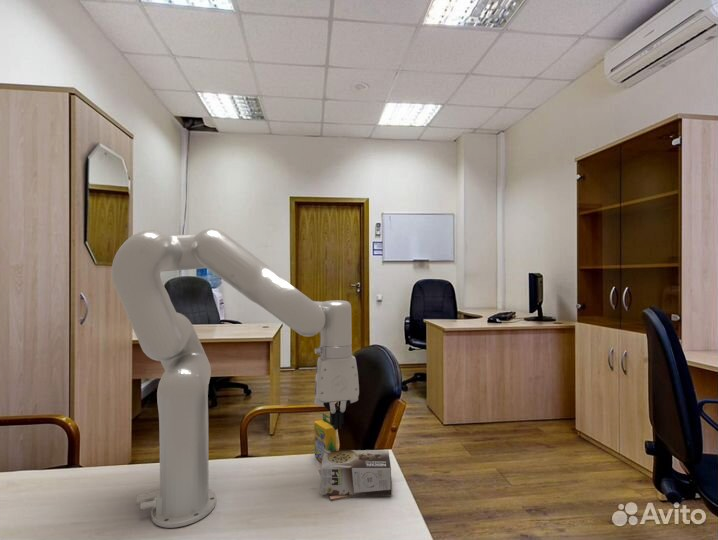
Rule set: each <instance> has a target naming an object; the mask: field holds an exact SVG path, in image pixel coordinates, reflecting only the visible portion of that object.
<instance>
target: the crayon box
mask: <svg viewBox="0 0 718 540" xmlns="http://www.w3.org/2000/svg"><path fill="white" fill-rule="evenodd" d="M327 418H328V419H329V420H328V419H327ZM313 425H314V426H313V430H314V433H313V434H314V435H313V436H314V458H315V459H316V460H318V461H320V463H322V460H323V455H324V451H325V450H337V435H336V434H337V430H335V429H334V428H333V426H332V425H331V424H330V415H329V414H326V413H324V412H322V419H320V420H316V421H314V422H313Z"/></svg>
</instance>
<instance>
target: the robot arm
mask: <svg viewBox="0 0 718 540" xmlns="http://www.w3.org/2000/svg"><path fill="white" fill-rule="evenodd" d="M202 269H206V270H208V271H210V272H211V273H212V274H214V275H215V276H217V278H220V279H221V280H222V281H223V282H225V283H226V284H228V285H230V286H231V287H232V288H233V289H235V290H236V291H237V292H239V293H240V295H241V294H242V295H243V296H244V297H245V298H247V299H248V300H250V301H252V303H255V304H256V305H258V306H260V307H261V308H263V309H264V310H266V311H267V312H268V313H269V314H271V315H272V316H273V317H275V318H277V319H278V320H279V321H280V322H282V323H284V324H285V325H286V326H287V327H288V328H290V329H292V330H293V331H294V332H296V333H297V335H300V336H303V337H314V336H316V335H318V334H320V344H319V347H317V348H316V347H315V348H314V354H315V355H319V356H318V358H317V363H316V370H315V381H314V394H315V397H314V405H315V406H317V407H324V408H325V409H326V410H328V411H329V416H330V419H329V422H330V424H331V425H332V426H333V428H334V429H335V430H336V431H337V430H342V425H343V424H344V412H345V411H346V409H347V408H348V407H349V406H350V404H353V403H356V402H358V401H359V395H360V384H359V372H358V365H357V359H356V357H355V356H354V355H353V352H352V351H353V350H352V349H353V348H352V347H353V345H352V343H353V342H352V339H353V338H352V336H353V335H352V328H353V327H352V305H351V302H349V301H347V300H340V299H339V300H338V299H336V300H334V299H333V300H326V301H319V300H318V301H316V300H312V299H311V298H309V296H307V295H305V294H304V293H303V292H302V291H300V290H299V289H298V288H296V287H295V286H293V285H292V284H291V283H290V282H288V281H287V280H286V279H284V278H283V277H282V276H281V275H280V274H278V272H276V270H274V269H273V268H271V267H270V266H269V265H268V264H267V263H265V262H264V261H262V260H261V259H260V258H258V257H257V255H254V253H251V252H250V251H249V250H248V249H247V248H245V247H244V246H242V245H241V244H240V243H239V242H237V241H236V240H234V238H232V237H231V236H230V235H228V234H227V233H225V232H223V231H222V230H220V229H217V228H205V229H203V230H201V231H200V232H198V233H193V234H165V233H163V232H160V231H156V230H142V231H139V232H136V233H134V234H132V235H131V236H129V238H128V239H126V240H125V241H124V242H123V244H122V245H120V246H119V248H118V250H117V251H116V253H115V255H114V257H113V260H112V265H111V278H112V283H113V286H114V289H115V292H116V294H117V296H118V298H119V300H120V302H121V304H122V307H123V309H124V311H125V313H126V316H127V319H128V321H129V323H130V325H131V328H132V330H133V332H134V334H135V337H136V338H137V341H138V343H139V346H140V348H141V350H142V352H143V353H144V354H145V356H146V357H148V358H149V359H151V360H154V361H157V362H160V363H161V366H162V368H163V370H164V372H163V374H162V375H161V377H160V380H159V381H158V386H157V392H156V399H157V410H158V421H159V423H158V424H159V425H158V427H159V433H158V434H159V489H157V490H154V491H153V492H151V493H141V494H137V497H136V506H140V510H141V511H143V510H148V509H151V520H152V522H153V523H154V525H156V526H158V527H161V528H170V529H173V528H180V527H185V526H188V525H192V524H194V523H197V522H198V521H200V520H202V519H203V518H205V517H206V516H208V515H209V514H210V513H212V511H213V510H214V508H215V506H216V504H217V494H216V493H215V491H214V490H212V489H210V487H209V470H210V469H209V397H208V395H209V384H210V380H211V376H212V368H211V364H210V361H209V359H208V356H207V355H206V352H205V350H204V347H203V345H202V343H201V341H200V338H199V336H198V333H197V332H196V330H195V328H194V325H193V323H192V322H191V320H190V319H189V318H188V317H187V316H185V315H184V314H183V313H181V312H180V313H179V312H177V311H176V309H175V307H174V304H173V303H172V301H171V297H170V295H169V292H168V291H167V289H166V287H165V285H164V284H163V282H162V279H161V272H162V273H163V272H164V273H165V272H175V271H189V270H202ZM336 402H338V403H337V406H336V404H335V403H336Z"/></svg>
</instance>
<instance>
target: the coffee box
mask: <svg viewBox="0 0 718 540" xmlns="http://www.w3.org/2000/svg"><path fill="white" fill-rule="evenodd" d="M389 452H390V451H389V449H365V450H364V449H362V450H361V449H357V450H356V449H349V450H348V449H347V450H346V449H344V450H343V449H336V450H325V451H324V455H323V460H322V462H321V466H320V467H321V475H320V489H319V490H320V491H319V494H320V495H321V496H322V495H324V496H325V495H326V496H329V495H360V496H390V497H391V496H393V495H392V493H393V489H392V488H393V487H392V486H393V481H392V467H391V460H390V459H391V458H390V453H389Z"/></svg>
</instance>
